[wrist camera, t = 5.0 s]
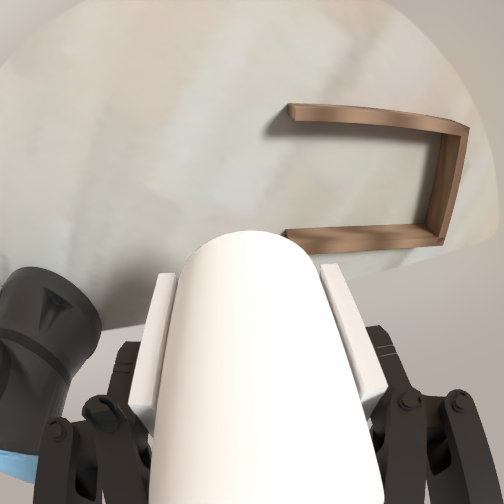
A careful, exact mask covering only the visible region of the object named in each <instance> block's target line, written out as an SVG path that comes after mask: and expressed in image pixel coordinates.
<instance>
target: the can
mask: <svg viewBox="0 0 504 504" xmlns="http://www.w3.org/2000/svg"><path fill="white" fill-rule="evenodd" d="M149 504H384V490H383V485H382V480H381V475H380V471H379V467H378V463H377V459H376V455H375V451H374V447H373V443H372V440H371V436H370V432H369V429H368V425H367V422H366V418H365V415H364V411H363V408H362V404H361V401H360V398H359V394H358V391H357V388H356V384H355V381H354V378H353V375H352V372H351V368H350V365H349V362H348V359H347V356H346V353H345V350H344V347H343V344H342V341H341V338H340V335H339V332H338V329H337V326H336V323H335V320H334V317H333V314H332V311H331V309H330V306H329V303H328V300H327V297H326V295H325V292H324V289H323V286H322V284H321V281H320V278H319V276H318V273H317V271H316V268H315V266H314V264H313V262H312V260H311V259H310V257H309V256H308V255H307V253H306V252H305V251H304V250H303V249H302V248H301V247H299V246H298V245H297V244H295V243H294V242H292V241H290V240H289V239H287V238H284V237H282V236H279V235H276V234H273V233H268V232H262V231H239V232H233V233H229V234H225V235H222V236H219V237H217V238H214V239H212V240H210V241H209V242H207V243H205V244H204V245H202V246H201V247H200V248H198V249H197V250H196V251H195V252H194V253H193V254H192V255H191V256H190V257H189V259H188V260H187V261H186V263H185V265H184V267H183V269H182V271H181V274H180V277H179V281H178V285H177V290H176V295H175V300H174V305H173V310H172V316H171V321H170V326H169V332H168V338H167V344H166V350H165V356H164V362H163V369H162V375H161V382H160V389H159V397H158V404H157V412H156V420H155V429H154V438H153V447H152V458H151V470H150V483H149Z"/></svg>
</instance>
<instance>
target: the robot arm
mask: <svg viewBox="0 0 504 504" xmlns="http://www.w3.org/2000/svg"><path fill="white" fill-rule="evenodd" d="M319 278H320V281H321V284H322V286H323V289H324V292H325V295H326V297H327V300H328V303H329V306H330V309H331V311H332V314H333V317H334V320H335V323H336V326H337V329H338V332H339V335H340V338H341V341H342V344H343V347H344V350H345V353H346V356H347V359H348V362H349V365H350V368H351V372H352V375H353V378H354V381H355V384H356V388H357V391H358V394H359V398H360V401H361V404H362V408H363V411H364V415H365V418H366V422H367V421H368V419H369V418H371V421H372V424H373V425H372V427H371V429H370V430H369V432H370V436H371V440H372V443H373V447H374V451H375V455H376V459H377V463H378V467H379V471H380V475H381V480H382V485H383V490H384V504H424V498H425V484H426V480H427V485H428V490H429V496H430V502H431V504H503V499H502V494H501V490H500V485H499V481H498V477H497V473H496V469H495V465H494V462H493V458H492V455H491V452H490V448H489V445H488V442H487V438H486V435H485V432H484V429H483V426H482V423H481V420H480V417H479V415H478V412H477V409H476V406H475V404H474V401H473V399H472V397H471V396H470V394H468V393H467V392H466V391H463V390H461V389H458V390H457V389H456V390H453V391H450V392H449V393H448V395H447V396H446V397H437V396H426V395H422V394H421V392H420V391H418V390H416V389H415V388H413V387H412V386H411V384H410V382H409V380H408V377H407V375H406V373H405V370H404V368H403V366H402V364H401V361H400V359H399V356H398V355H397V352H396V350H395V347H394V346H393V343H392V341H391V339H390V336H389V334H388V333H387V332H386V331H385V330H384V329H383V328H382V327H381V326H380V325H378V326H371V327H365V326H364V323H363V321H362V319H361V316H360V314H359V312H358V309H357V307H356V305H355V302H354V300H353V298H352V295H351V293H350V291H349V289H348V286H347V284H346V282H345V280H344V277H343V275H342V273H341V271H340V269H339V266H338V264H337V263H334V264H321V269H320V277H319ZM177 285H178V282H177V278H176V273H159V275H158V279H157V282H156V286H155V290H154V293H153V297H152V301H151V304H150V308H149V312H148V316H147V320H146V324H145V328H144V332H143V336H142V340H141V342H127V341H126V342H125V343H124V344H123V345H122V347H121V348H120V349H119V351H118V354H117V357H116V361H115V365H114V368H113V373H112V376H111V380H110V384H109V388H108V392H107V395H96V396H94V397H91V398H90V399H89V400H88V401H87V402H86V403H85V405H84V406H83V408H82V416H83V417H84V418H85V419H86V420H84V421H78V422H73V423H70V422H69V421H68V420H67V419H66V418H63V417H61V416H62V412H63V407H64V404H65V400H66V397H67V393H68V390H69V386H70V383H71V380H72V378H73V377H74V375H75V374H76V373H77V372H78V370H79V369H80V368H81V366H82V365H83V364H84V362H85V361H86V359H88V358H89V357H90V356H91V355H92V354H93V353H94V351H95V349H96V347H97V344H98V341H99V339H100V335H101V322H100V318H99V316H98V313H97V311H96V310H95V308H94V306H93V305H92V303H91V302H90V301H89V299H88V298H87V297H86V296H85V295H84V294H83V293H82V292H81V291H80V290H79V289H78V288H77V287H76V286H75V285H73V284H72V283H71V282H69V281H68V280H66V279H65V278H63V277H61V276H60V275H58V274H56V273H54V272H51V271H49V270H46V269H42V268H38V267H24V268H20V269H18V270H16V271H14V272H13V273H12V274H11V275H10V276H9V278H8V279H7V281H6V282H5V284H4V285H3V287H2V289H1V291H0V471H1V472H3V473H6V474H8V475H10V476H13V477H15V478H18V479H21V480H23V481H26V482H29V483H32V484H35V486H34V497H33V504H102V489H103V493H104V498H105V502H106V504H149V483H150V470H151V458H152V452H151V448H150V446H149V444H148V442H147V441H148V433H149V434H150V435H151V436H152V437H153V438H154V429H155V420H156V412H157V404H158V397H159V389H160V382H161V375H162V369H163V362H164V356H165V350H166V344H167V338H168V332H169V326H170V321H171V316H172V310H173V305H174V300H175V295H176V290H177Z"/></svg>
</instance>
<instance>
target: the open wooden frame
mask: <svg viewBox="0 0 504 504" xmlns="http://www.w3.org/2000/svg"><path fill="white" fill-rule="evenodd" d="M288 115H289V116H290V117H291V118H293V119H294V120H295V121H326V122H347V123H362V124H375V125H386V126H396V127H404V128H413V129H420V130H427V131H434V132H440V133H443V134H442V141H441V148H440V154H439V160H438V166H437V171H436V176H435V182H434V187H433V191H432V196H431V200H430V205H429V209H428V213H427V218H426V222H425V224H402V225H373V226H348V227H325V228H304V229H286V238H287V239H289V240H290V241H292V242H294V243H295V244H297V245H298V246H299V247H301V248H302V249H303V250H304V251H305V252H306V253H307V254H322V253H338V252H353V251H368V250H383V249H398V248H413V247H428V246H442V245H443V243H444V240H445V237H446V234H447V230H448V227H449V223H450V220H451V216H452V212H453V208H454V204H455V200H456V196H457V192H458V188H459V183H460V179H461V174H462V169H463V164H464V159H465V154H466V148H467V142H468V135H469V128H470V127H467V126H465V125H463V124H460V123H458V122H455V121H453V120H449V119H444V118H438V117H433V116H427V115H421V114H415V113H408V112H401V111H394V110H385V109H377V108H367V107H356V106H342V105H325V104H293V103H288Z"/></svg>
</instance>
